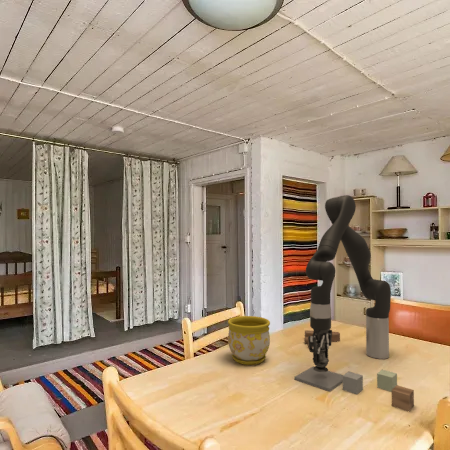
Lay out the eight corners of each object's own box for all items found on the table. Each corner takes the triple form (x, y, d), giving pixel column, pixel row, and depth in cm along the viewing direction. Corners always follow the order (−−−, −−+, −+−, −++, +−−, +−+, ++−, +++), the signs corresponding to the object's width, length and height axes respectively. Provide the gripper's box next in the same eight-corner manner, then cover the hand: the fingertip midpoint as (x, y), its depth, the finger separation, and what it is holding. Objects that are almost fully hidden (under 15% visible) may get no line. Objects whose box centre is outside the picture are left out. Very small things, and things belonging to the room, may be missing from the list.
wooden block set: (302, 328, 177) (339, 329, 175) (302, 339, 177) (339, 340, 175) (306, 338, 160) (346, 339, 158) (306, 350, 160) (346, 351, 158)
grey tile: (313, 368, 137) (313, 366, 137) (347, 379, 128) (347, 376, 128) (294, 379, 127) (294, 376, 127) (329, 391, 118) (329, 388, 118)
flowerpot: (221, 363, 142) (221, 323, 143) (236, 350, 159) (236, 314, 159) (263, 370, 136) (263, 328, 136) (274, 355, 152) (274, 318, 153)
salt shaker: (329, 373, 124) (329, 339, 124) (312, 371, 125) (312, 338, 126) (328, 366, 130) (328, 334, 130) (312, 365, 131) (312, 333, 131)
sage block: (382, 383, 124) (382, 369, 125) (397, 387, 121) (396, 373, 121) (377, 387, 121) (377, 373, 121) (392, 392, 117) (392, 377, 117)
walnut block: (396, 400, 112) (396, 385, 112) (413, 406, 108) (413, 389, 108) (391, 406, 108) (391, 390, 108) (409, 412, 105) (408, 395, 105)
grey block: (348, 385, 123) (348, 371, 123) (362, 389, 119) (362, 375, 119) (342, 390, 119) (342, 375, 119) (357, 394, 116) (356, 379, 116)
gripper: (320, 310, 136) (320, 353, 135) (301, 316, 125) (301, 363, 125) (338, 313, 131) (339, 358, 130) (320, 320, 120) (320, 369, 120)
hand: (320, 360), depth 128 cm, fingers closed on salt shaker, 6 cm apart
